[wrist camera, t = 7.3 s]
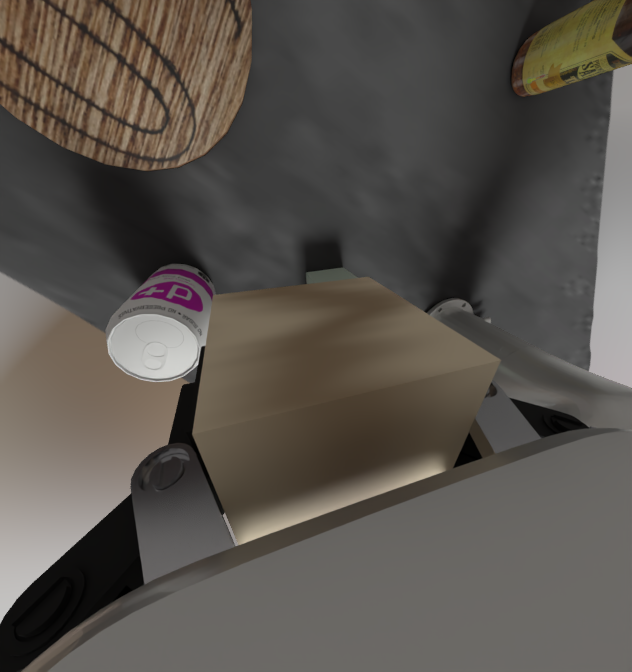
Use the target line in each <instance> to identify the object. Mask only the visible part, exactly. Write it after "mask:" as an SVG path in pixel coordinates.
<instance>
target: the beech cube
mask: <svg viewBox="0 0 632 672" xmlns="http://www.w3.org/2000/svg"><path fill="white" fill-rule="evenodd" d="M500 362H501V360H500V359H499V358H497V357H496V356H494V355H492V354H491V353H489V352H488V351H486V350H484V349H483V348H481V347H480V346H478V345H476V344H475V343H473V342H472V341H470V340H468V339H467V338H465V337H464V336H462V335H460V334H459V333H457V332H456V331H454V330H452V329H451V328H449V327H448V326H446V325H444V324H443V323H441V322H440V321H438V320H436V319H435V318H433V317H432V316H430V315H428V314H427V313H425V312H424V311H422V310H421V309H419V308H417V307H416V306H414V305H413V304H411V303H409V302H408V301H406V300H405V299H403V298H401V297H400V296H398V295H397V294H395V293H393V292H392V291H390V290H389V289H387V288H385V287H384V286H382V285H381V284H379V283H377V282H376V281H374V280H373V279H371V278H369V277H363V278H354V279H346V280H337V281H329V282H321V283H312V284H304V285H295V286H287V287H279V288H270V289H262V290H253V291H245V292H236V293H228V294H220V295H213V299H212V306H211V312H210V319H209V326H208V332H207V339H206V346H205V352H204V359H203V366H202V372H201V379H200V386H199V392H198V399H197V406H196V412H195V419H194V426H193V432H192V435H193V437H194V440H195V442H196V445H197V447H198V449H199V452H200V454H201V457H202V459H203V461H204V464H205V466H206V468H207V471H208V473H209V476H210V478H211V480H212V483H213V485H214V488H215V490H216V492H217V495H218V497H219V499H220V502H221V504H222V507H223V509H224V511H225V514H226V516H227V518H228V521H229V523H230V526H231V528H232V530H233V533H234V535H235V538H236V539H237V542H238V545H241V544H244V543H246V542H249V541H252V540H254V539H257V538H260V537H262V536H265V535H268V534H270V533H273V532H276V531H279V530H282V529H284V528H287V527H290V526H293V525H295V524H298V523H301V522H304V521H307V520H309V519H312V518H315V517H318V516H321V515H323V514H326V513H329V512H332V511H334V510H337V509H340V508H343V507H346V506H348V505H351V504H354V503H357V502H360V501H362V500H365V499H368V498H371V497H374V496H377V495H379V494H382V493H385V492H388V491H391V490H393V489H396V488H399V487H402V486H405V485H408V484H410V483H413V482H416V481H419V480H422V479H425V478H428V477H430V476H433V475H436V474H439V473H442V472H445V471H447V470H450V469H453V467H454V464H455V462H456V460H457V458H458V455H459V453H460V451H461V449H462V447H463V444H464V442H465V440H466V438H467V435H468V433H469V430H470V428H471V425H472V423H473V421H474V419H475V417H476V415H477V413H478V411H479V409H480V406H481V404H482V402H483V400H484V397H485V395H486V393H487V391H488V388H489V386H490V384H491V382H492V380H493V377H494V375H495V373H496V371H497V368H498V366H499V364H500Z"/></svg>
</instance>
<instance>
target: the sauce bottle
mask: <svg viewBox="0 0 632 672" xmlns="http://www.w3.org/2000/svg"><path fill="white" fill-rule="evenodd" d="M630 64H632V0H594V1H592V2H590V3H589V4H587V5H585V6H583V7H581V8H579V9H577V10H575V11H573V12H571V13H569V14H568V15H566V16H564V17H562V18H560V19H558V20H556V21H554V22H553V23H551V24H549V25H547V26H545V27H544V28H543V29H541V30H540V31H537V32H536V33H534V34H533V35H532V36H530V37H529V38H528V39H527V40H526V41H525V43H524V44H523V45H522V47H521V48H520V49H519V51H518V53H517V56H516V58H515V60H514V63H513V68H512V76H511V84H512V87H513V90H514V92H515V93H516V94H518V95H520V96H523V97H525V96H531V95H537V94H540V93H543V92H546V91H549V90H553V89H556V88H559V87H562V86H565V85H568V84H571V83H575V82H578V81H581V80H584V79H587V78H590V77H593V76H596V75H599V74H602V73H605V72H608V71H611V70H614V69H617V68H620V67H624V66H627V65H630Z"/></svg>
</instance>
